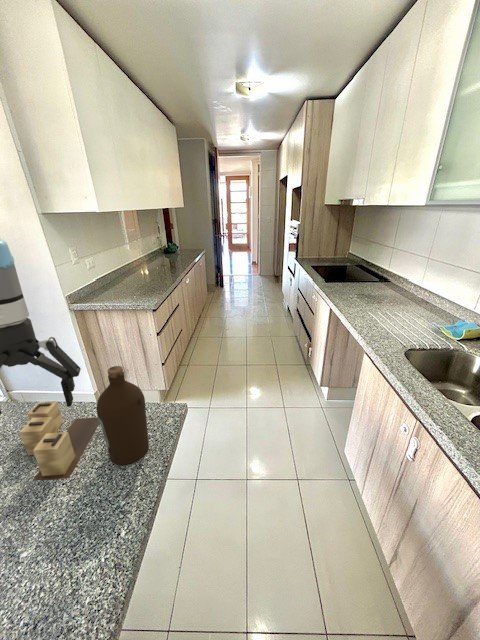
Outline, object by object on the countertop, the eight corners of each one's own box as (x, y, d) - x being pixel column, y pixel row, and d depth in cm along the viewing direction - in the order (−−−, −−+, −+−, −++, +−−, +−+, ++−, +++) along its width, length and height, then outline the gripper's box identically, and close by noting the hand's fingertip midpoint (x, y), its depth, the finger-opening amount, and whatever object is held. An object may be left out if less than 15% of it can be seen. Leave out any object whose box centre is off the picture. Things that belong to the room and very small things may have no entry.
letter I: (28, 456, 66) (18, 431, 63) (40, 441, 71) (32, 416, 68) (49, 455, 66) (40, 429, 63) (59, 439, 71) (52, 415, 68)
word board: (33, 482, 60) (32, 480, 59) (76, 420, 78) (75, 418, 78) (69, 479, 60) (69, 477, 60) (103, 418, 79) (103, 417, 79)
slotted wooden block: (35, 437, 72) (26, 413, 69) (45, 424, 76) (38, 400, 73) (54, 436, 72) (46, 412, 69) (63, 423, 77) (56, 399, 74)
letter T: (42, 476, 60) (32, 449, 57) (54, 457, 65) (45, 431, 62) (64, 474, 61) (56, 447, 58) (75, 456, 66) (67, 430, 62)
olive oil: (151, 432, 74) (140, 355, 65) (151, 463, 65) (138, 378, 56) (110, 440, 71) (93, 361, 62) (104, 474, 62) (83, 386, 53)
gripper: (-99, 338, 43) (-49, 437, 50) (76, 320, 51) (96, 407, 59) (-69, 322, 49) (-29, 412, 57) (82, 309, 58) (99, 388, 65)
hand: (35, 409), depth 58 cm, fingers open, 13 cm apart
